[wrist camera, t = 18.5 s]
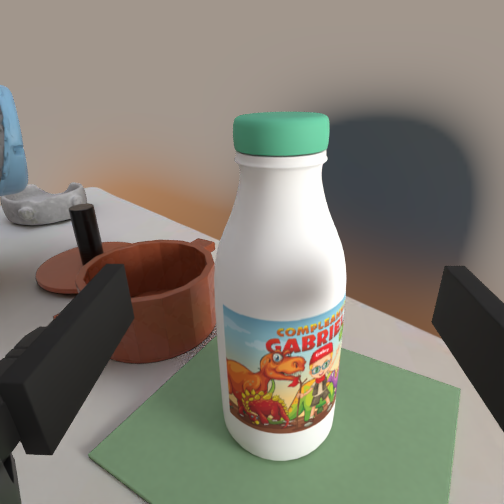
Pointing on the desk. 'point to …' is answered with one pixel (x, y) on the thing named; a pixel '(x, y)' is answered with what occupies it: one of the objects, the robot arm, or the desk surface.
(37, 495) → the desk surface
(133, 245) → the pot
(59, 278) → the lid
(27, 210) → the dish
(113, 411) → the desk surface
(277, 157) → the milk bottle
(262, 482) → the mat
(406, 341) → the desk surface
